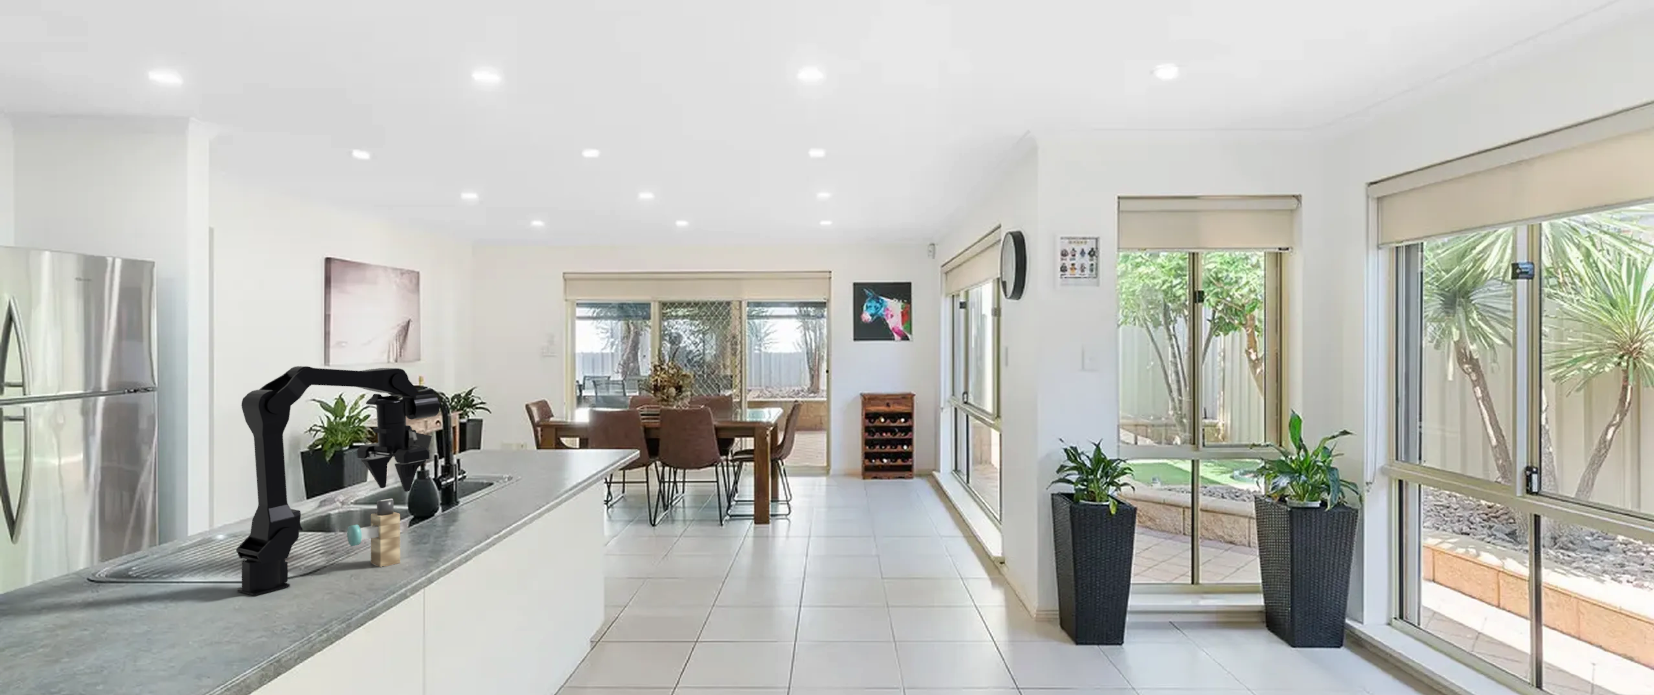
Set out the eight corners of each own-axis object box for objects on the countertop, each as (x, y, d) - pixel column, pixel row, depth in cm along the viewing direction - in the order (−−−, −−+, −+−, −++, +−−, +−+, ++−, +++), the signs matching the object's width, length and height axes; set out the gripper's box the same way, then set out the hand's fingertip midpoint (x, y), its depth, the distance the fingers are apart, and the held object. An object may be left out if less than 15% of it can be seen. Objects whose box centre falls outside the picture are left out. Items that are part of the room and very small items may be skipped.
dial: (380, 516, 164) (380, 501, 164) (374, 514, 166) (374, 500, 166) (396, 513, 166) (396, 499, 166) (389, 511, 168) (389, 497, 168)
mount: (380, 567, 163) (380, 517, 163) (370, 563, 166) (370, 514, 166) (400, 563, 166) (399, 513, 166) (390, 559, 169) (390, 510, 169)
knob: (355, 547, 159) (355, 527, 159) (347, 544, 162) (347, 524, 162) (384, 541, 164) (384, 522, 164) (376, 538, 167) (376, 519, 167)
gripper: (450, 419, 174) (453, 485, 174) (400, 416, 182) (404, 479, 183) (403, 426, 164) (407, 496, 165) (354, 422, 173) (357, 489, 173)
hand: (395, 489), depth 172 cm, fingers open, 9 cm apart
